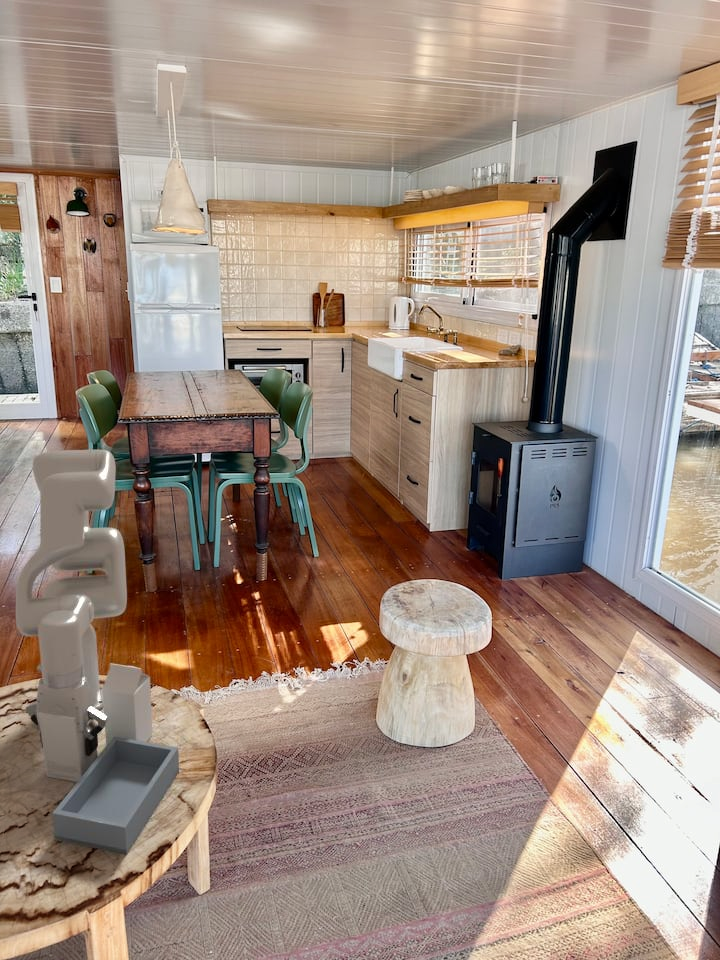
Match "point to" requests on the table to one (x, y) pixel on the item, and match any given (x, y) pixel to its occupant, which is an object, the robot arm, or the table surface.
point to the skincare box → (64, 747)
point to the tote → (116, 795)
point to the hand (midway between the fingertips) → (69, 747)
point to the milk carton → (127, 703)
